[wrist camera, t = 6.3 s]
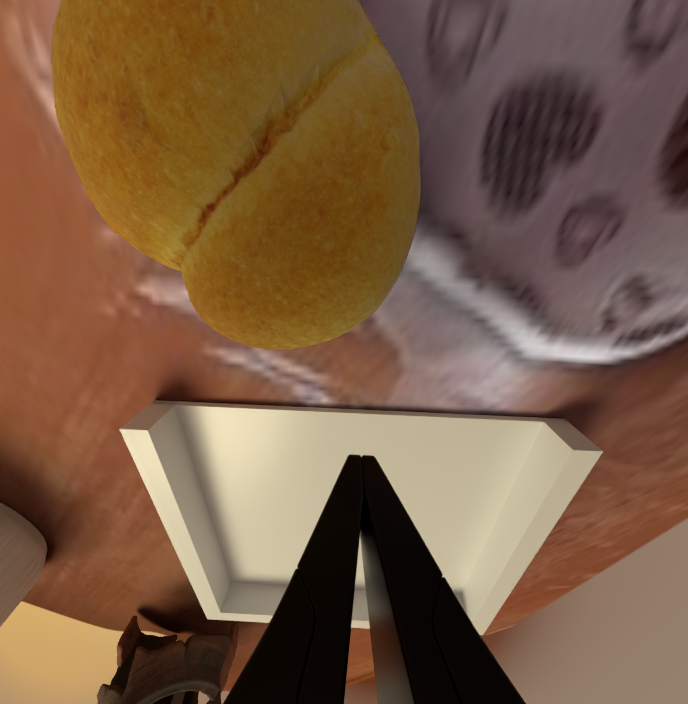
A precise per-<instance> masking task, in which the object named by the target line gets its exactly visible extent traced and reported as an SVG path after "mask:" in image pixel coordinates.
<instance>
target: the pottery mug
mask: <svg viewBox="0 0 688 704" xmlns="http://www.w3.org/2000/svg"><path fill="white" fill-rule="evenodd" d="M237 637H238V630H237V624H236V622H234V623H233V624H232V625H231V629H230V633H229V634H223V635H200V634H195V635H192V636H190V637H189V638H188V639H187V641H186V643H185V644H184V642H183V641H182V640H178V641H176V640H177V635H171V636H163V637H158V636H154V635H146V634H144V633H142V632H141V630H140V629H139V626H138V623H137V616H133V617H132V618H131V620H130V622H129V624H128V626H127V627H126V629H125V631H124V633H123V634H122V636H121V638H120V640H119V642H118V645H117V665H118V669H117V672H116V674H115V676H114V678H113V679H112V681H111V684H110V685H106V684H102V686H101V687H100V689H99V692H98V695H97V698H98V704H198V693H199V691H201V692H202V693H204V694H206V695H207V696H208V697H209V698H210V700H209V701H208V702H207V704H221V698H220V697H221V692H222V691H223V689H224V686H225V684H226V681H227V678H228V672H229V670H230V668H231V665H232V662H233V659H234V657H235V650H236V648H237Z"/></svg>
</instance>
